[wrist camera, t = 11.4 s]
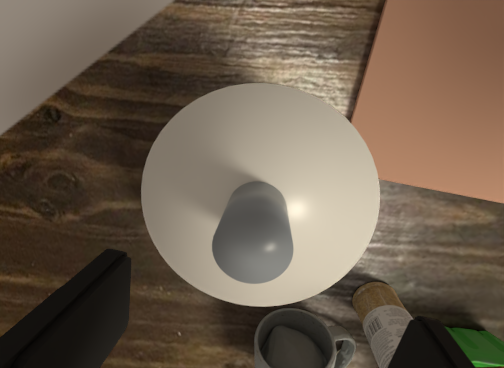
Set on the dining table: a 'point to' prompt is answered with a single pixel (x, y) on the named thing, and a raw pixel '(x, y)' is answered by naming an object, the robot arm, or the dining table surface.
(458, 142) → the mat
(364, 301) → the spice bottle
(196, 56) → the dining table surface
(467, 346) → the fruit basket
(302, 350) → the ceramic mug
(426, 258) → the dining table surface
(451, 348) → the robot arm
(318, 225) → the lid
